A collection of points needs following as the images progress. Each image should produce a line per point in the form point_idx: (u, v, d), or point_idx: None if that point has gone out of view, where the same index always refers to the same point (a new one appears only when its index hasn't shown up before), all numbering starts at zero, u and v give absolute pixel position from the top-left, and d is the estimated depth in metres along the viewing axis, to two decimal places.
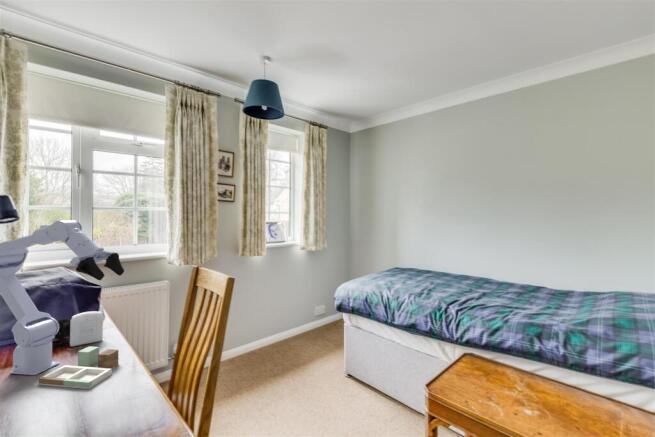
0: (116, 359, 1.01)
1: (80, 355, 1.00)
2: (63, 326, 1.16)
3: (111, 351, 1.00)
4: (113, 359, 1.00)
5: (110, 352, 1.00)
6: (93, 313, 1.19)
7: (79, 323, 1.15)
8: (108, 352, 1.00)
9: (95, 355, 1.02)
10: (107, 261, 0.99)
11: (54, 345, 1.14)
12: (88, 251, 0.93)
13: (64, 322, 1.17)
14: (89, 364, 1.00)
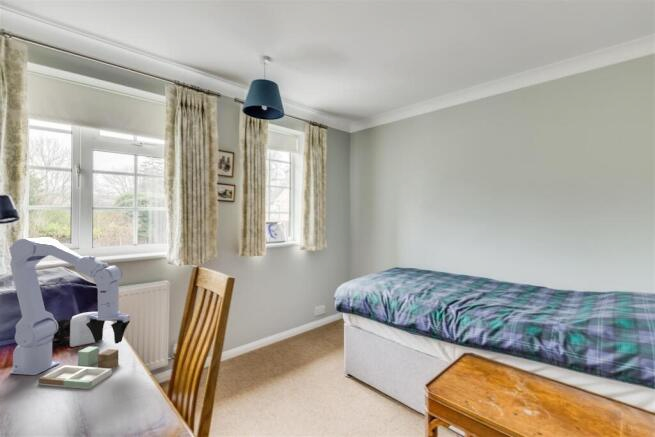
0: (116, 359, 1.01)
1: (80, 355, 1.00)
2: (63, 326, 1.16)
3: (111, 351, 1.00)
4: (113, 359, 1.00)
5: (110, 352, 1.00)
6: None
7: (79, 324, 1.15)
8: (108, 352, 1.00)
9: (95, 355, 1.02)
10: (97, 322, 1.00)
11: (54, 345, 1.14)
12: (118, 311, 1.01)
13: (64, 322, 1.17)
14: (89, 364, 1.00)
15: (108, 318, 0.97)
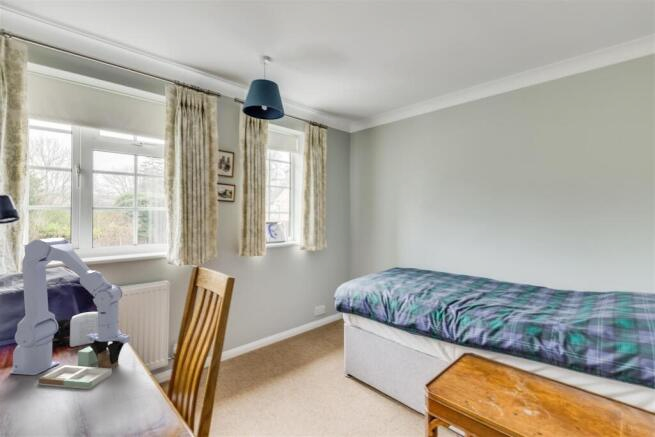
0: None
1: (80, 355, 1.00)
2: (63, 326, 1.16)
3: None
4: None
5: None
6: (93, 314, 1.18)
7: (79, 324, 1.15)
8: (108, 352, 1.00)
9: (95, 355, 1.02)
10: (101, 343, 1.00)
11: (54, 345, 1.14)
12: (118, 331, 1.01)
13: (64, 322, 1.17)
14: (89, 364, 1.00)
15: (108, 340, 0.97)
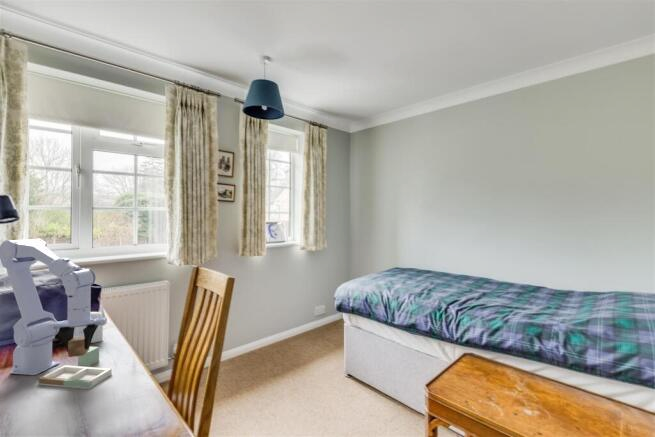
0: None
1: None
2: None
3: (82, 337, 0.95)
4: None
5: (82, 337, 0.95)
6: (93, 314, 1.18)
7: None
8: (79, 338, 0.94)
9: (95, 355, 1.02)
10: (69, 330, 0.93)
11: (54, 345, 1.14)
12: None
13: None
14: (89, 364, 1.00)
15: (84, 323, 0.93)
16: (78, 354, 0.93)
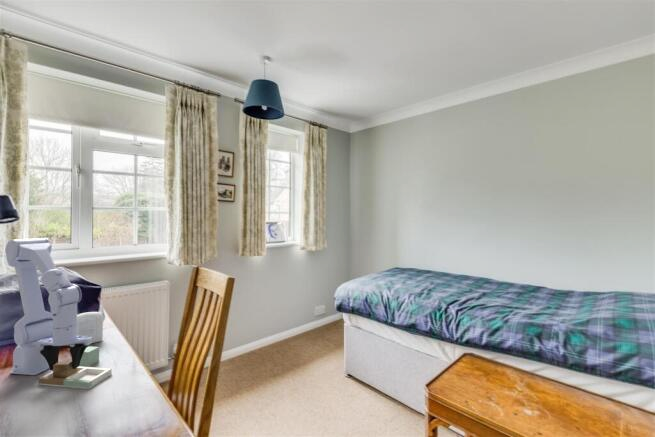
0: None
1: None
2: None
3: (68, 360, 0.93)
4: (72, 368, 0.93)
5: (68, 361, 0.92)
6: (93, 314, 1.18)
7: (79, 324, 1.15)
8: (65, 361, 0.92)
9: (95, 355, 1.02)
10: (53, 348, 0.91)
11: None
12: None
13: None
14: (89, 364, 1.00)
15: (68, 343, 0.90)
16: None
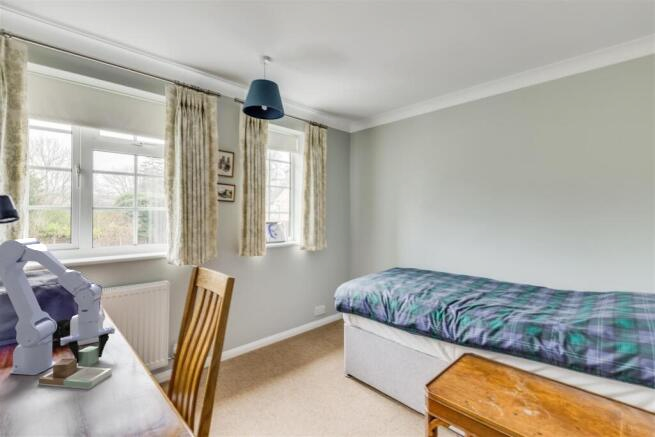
0: (75, 368, 0.94)
1: (80, 355, 1.00)
2: (63, 326, 1.16)
3: (68, 360, 0.93)
4: (72, 368, 0.93)
5: (68, 361, 0.92)
6: None
7: None
8: (65, 361, 0.92)
9: (95, 354, 1.02)
10: (77, 343, 0.99)
11: (54, 345, 1.14)
12: None
13: (64, 322, 1.17)
14: (89, 364, 1.00)
15: (98, 334, 1.02)
16: None
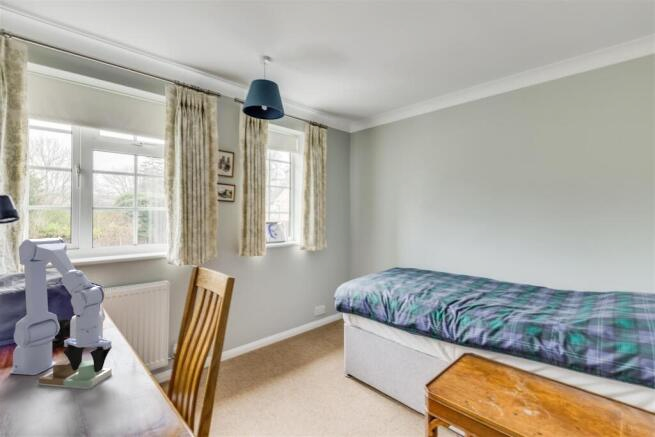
0: None
1: None
2: (63, 326, 1.16)
3: (68, 360, 0.93)
4: None
5: (68, 361, 0.92)
6: None
7: None
8: (65, 361, 0.92)
9: (90, 372, 0.90)
10: (75, 348, 0.91)
11: (54, 345, 1.14)
12: (99, 336, 0.93)
13: (64, 322, 1.17)
14: None
15: (87, 345, 0.89)
16: None
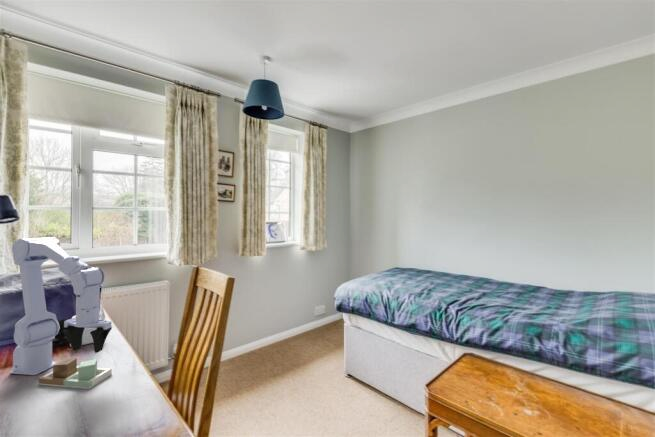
0: (75, 368, 0.94)
1: None
2: (63, 326, 1.16)
3: (68, 360, 0.93)
4: (72, 368, 0.93)
5: (68, 361, 0.92)
6: None
7: None
8: (65, 361, 0.92)
9: (90, 372, 0.90)
10: (75, 329, 0.91)
11: (54, 345, 1.14)
12: (99, 317, 0.93)
13: None
14: None
15: (87, 325, 0.89)
16: None
